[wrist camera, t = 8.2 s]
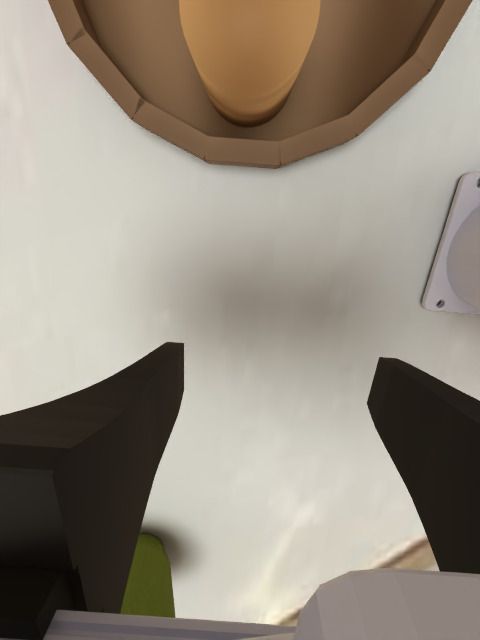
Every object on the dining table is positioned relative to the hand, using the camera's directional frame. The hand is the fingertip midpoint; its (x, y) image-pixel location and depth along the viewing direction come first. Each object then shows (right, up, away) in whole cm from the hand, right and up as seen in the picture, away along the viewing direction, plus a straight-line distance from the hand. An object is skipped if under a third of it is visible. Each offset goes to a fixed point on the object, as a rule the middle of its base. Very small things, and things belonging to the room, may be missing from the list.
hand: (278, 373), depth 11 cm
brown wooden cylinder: (-1, +14, +4) cm, 15 cm away
